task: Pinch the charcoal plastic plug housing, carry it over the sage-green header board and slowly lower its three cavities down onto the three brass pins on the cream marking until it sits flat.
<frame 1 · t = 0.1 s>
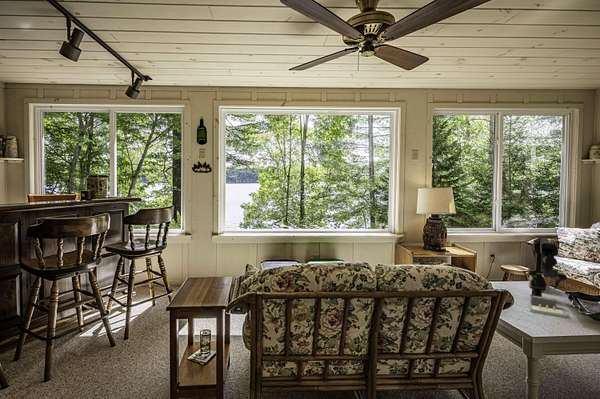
hand: (545, 287, 200), 15 cm above the table, fingers open, 9 cm apart
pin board: (546, 312, 199), on the table
stack of blocks: (538, 289, 246), on the table
plug housing: (542, 305, 210), on the table
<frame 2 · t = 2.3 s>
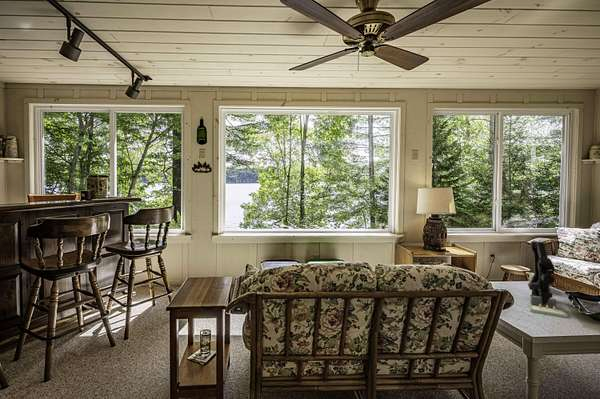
hand: (542, 303, 210), 1 cm above the table, fingers closed on plug housing, 5 cm apart
plug housing: (542, 305, 210), on the table, touching gripper
everything else where it was.
when the fingers open (3 cm above the table, at t = 7.0 s): plug housing stays where it is, resting on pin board.
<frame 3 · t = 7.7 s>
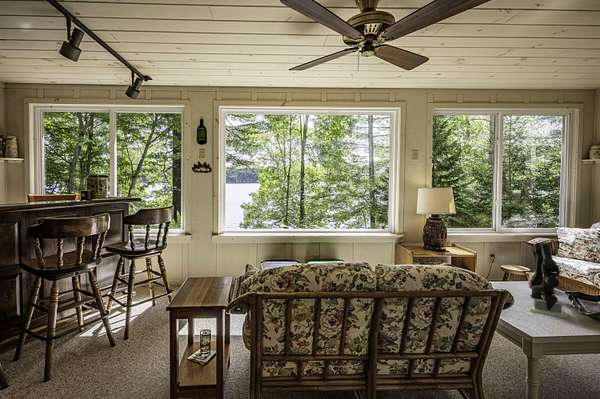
hand: (547, 307, 198), 3 cm above the table, fingers open, 9 cm apart
plug housing: (547, 309, 198), point 2 cm above the table, touching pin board
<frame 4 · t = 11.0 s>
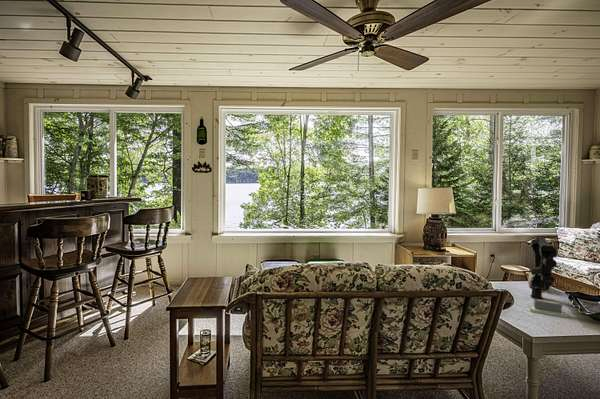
hand: (544, 288, 207), 12 cm above the table, fingers open, 9 cm apart
at the end: plug housing 0.0 cm off-centre on the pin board, point 1.6 cm above the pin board's base; plug housing tilted 0°; the gripper is holding nothing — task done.
